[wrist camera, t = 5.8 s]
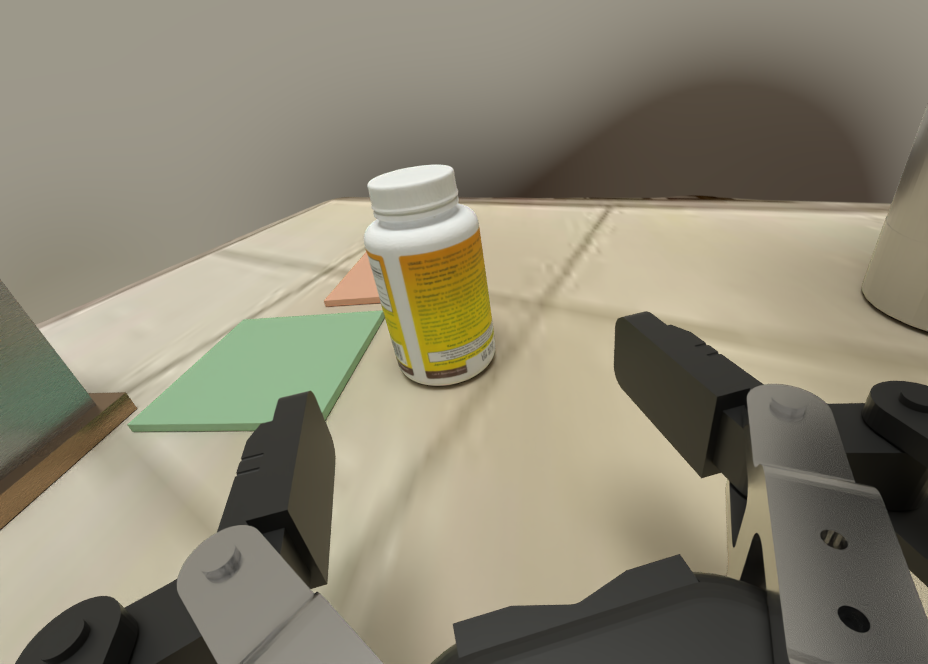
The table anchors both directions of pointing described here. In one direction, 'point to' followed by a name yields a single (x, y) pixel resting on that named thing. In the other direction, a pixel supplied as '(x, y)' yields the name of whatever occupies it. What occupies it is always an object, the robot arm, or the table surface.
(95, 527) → the table surface
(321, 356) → the green pad
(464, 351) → the supplement bottle
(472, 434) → the table surface
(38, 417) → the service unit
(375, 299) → the terracotta pad
